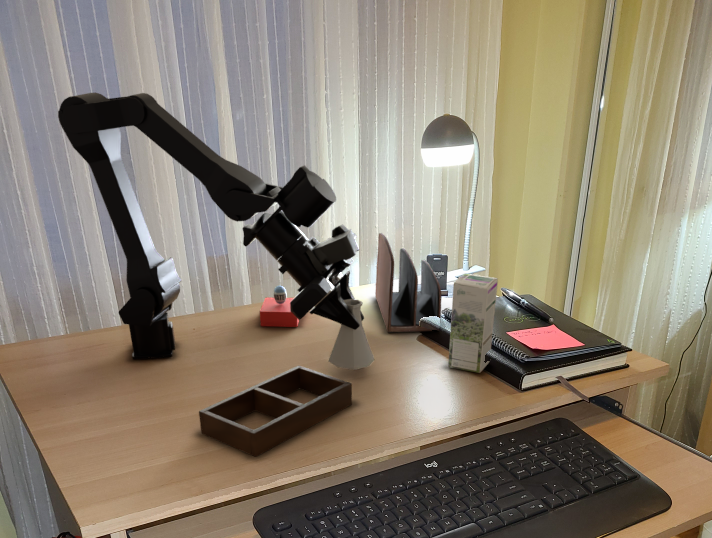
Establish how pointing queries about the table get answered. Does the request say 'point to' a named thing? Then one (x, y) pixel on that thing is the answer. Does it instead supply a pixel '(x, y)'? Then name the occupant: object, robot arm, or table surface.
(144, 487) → the table surface
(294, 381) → the walnut divided tray
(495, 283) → the syrup box
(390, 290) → the letter holder
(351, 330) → the flask
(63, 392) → the table surface
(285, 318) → the red slab
